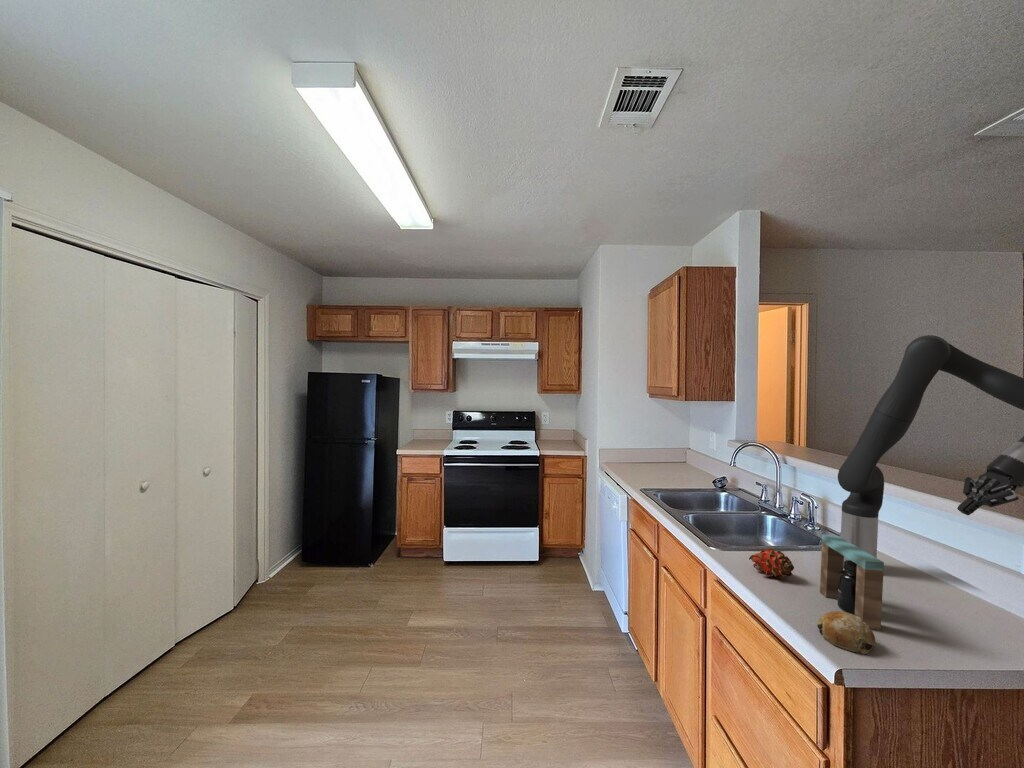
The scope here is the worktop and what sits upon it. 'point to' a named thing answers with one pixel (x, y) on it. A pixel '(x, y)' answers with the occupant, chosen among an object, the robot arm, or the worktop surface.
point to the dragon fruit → (772, 563)
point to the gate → (866, 577)
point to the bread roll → (846, 631)
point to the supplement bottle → (847, 587)
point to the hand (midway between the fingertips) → (962, 512)
